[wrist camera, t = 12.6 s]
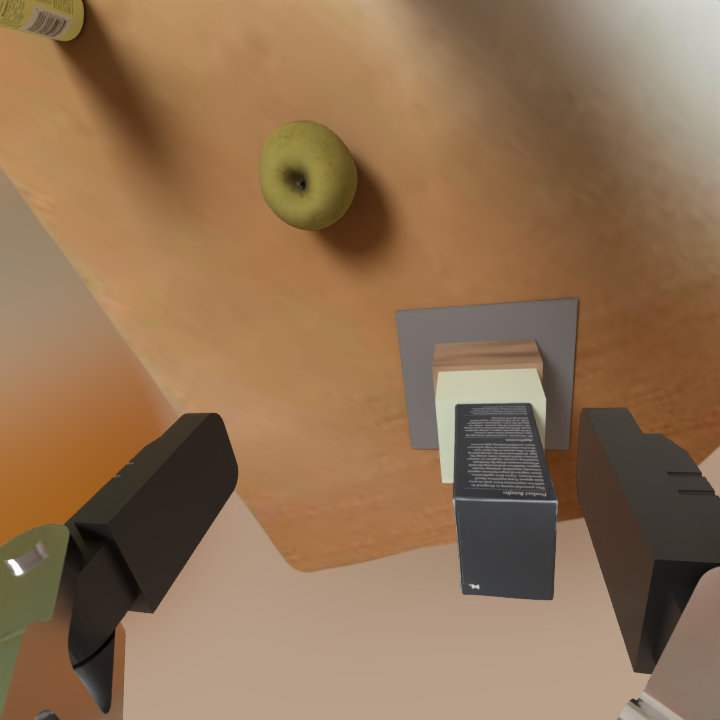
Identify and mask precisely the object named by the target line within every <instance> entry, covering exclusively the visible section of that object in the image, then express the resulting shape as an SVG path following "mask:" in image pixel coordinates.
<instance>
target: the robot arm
mask: <svg viewBox="0 0 720 720" xmlns="http://www.w3.org/2000/svg"><path fill="white" fill-rule="evenodd" d="M237 479H238V465H237V462H236V459H235V456H234V453H233V450H232V446H231V443H230V440H229V437H228V434H227V431H226V428H225V425H224V422H223V420H222V418H221V416H220V415H218V414H217V413H187V414H184V415H182V416H181V417H180V418H179V419H178V420H177V421H176V422H175V423H174V424H173V425H172V426H171V427H170V428H169V429H168V430H167V431H166V432H165V433H164V434H163V435H162V436H161V437H159V438H158V439H156V440H155V441H153V442H151V443H150V444H149V445H147V446H145V447H144V448H143V449H142V450H141V451H140V452H139V453H138V454H137V455H136V456H135V457H134V458H132V459H131V460H130V461H129V465H125V466H124V467H123V468H122V469H121V470H120V471H119V472H118V473H117V474H116V477H113V478H112V479H111V480H110V481H109V482H108V483H107V484H106V485H104V486H103V487H102V488H101V489H100V490H99V491H98V492H97V493H96V494H95V495H94V496H93V497H92V498H91V499H90V500H89V501H88V502H87V503H86V504H85V505H84V506H83V507H82V508H81V509H80V510H79V511H77V513H75V514H74V515H73V516H72V517H71V518H70V519H69V520H68V521H67V522H66V523H65V524H64V525H62V524H46V525H42V526H39V527H36V528H33V529H31V530H28V531H25V532H24V533H21V534H19V535H18V536H16V537H14V538H12V539H11V540H9V541H8V542H6V543H5V544H3V545H2V546H1V547H0V720H123V696H124V665H125V629H124V626H123V624H122V623H121V620H122V618H123V617H124V616H125V614H126V613H127V611H135V612H144V613H154V611H155V610H156V608H157V607H158V605H159V604H160V602H161V601H162V599H163V598H164V596H165V595H166V593H167V591H168V590H169V589H170V587H171V586H172V584H173V582H174V581H175V579H176V578H177V576H178V575H179V573H180V572H181V570H182V569H183V567H184V566H185V564H186V563H187V561H188V560H189V558H190V556H191V555H192V553H193V552H194V550H195V549H196V547H197V545H198V544H199V543H200V541H201V540H202V538H203V537H204V535H205V534H206V532H207V530H208V529H209V527H210V526H211V524H212V523H213V521H214V520H215V518H216V517H217V515H218V514H219V512H220V511H221V509H222V508H223V506H224V505H225V503H226V501H227V500H228V498H229V497H230V495H231V494H232V492H233V491H234V489H235V487H236V484H237ZM576 484H577V492H578V498H579V502H580V505H581V508H582V511H583V515H584V518H585V521H586V524H587V527H588V530H589V533H590V536H591V540H592V542H593V546H594V549H595V552H596V555H597V558H598V561H599V564H600V568H601V571H602V574H603V577H604V580H605V583H606V586H607V589H608V592H609V596H610V599H611V602H612V605H613V608H614V611H615V614H616V617H617V620H618V624H619V627H620V630H621V633H622V636H623V639H624V642H625V645H626V649H627V652H628V655H629V658H630V661H631V664H632V667H633V670H634V672H637V673H645V674H652V675H651V677H650V679H649V681H648V683H647V685H646V687H645V689H644V690H643V692H642V694H641V696H640V697H639V698H638V700H635V699H631V700H630V701H629V702H628V703H627V705H626V706H625V708H624V709H623V711H622V712H621V714H620V715H619V717H618V719H617V720H720V498H719V496H716V495H715V491H714V489H713V488H712V486H711V485H710V484H709V482H708V481H707V479H706V478H705V477H702V473H701V471H700V470H699V468H698V467H697V465H696V464H695V463H694V461H693V460H692V458H691V457H690V456H689V454H688V453H687V451H685V450H684V449H682V448H681V447H679V446H678V445H677V444H675V443H674V442H672V441H671V440H669V439H668V438H666V437H665V436H663V435H662V434H643V433H642V431H641V430H640V428H639V426H638V425H637V423H636V421H635V420H634V418H633V416H632V415H631V413H630V412H629V410H628V409H627V408H583V409H582V411H581V414H580V423H579V437H578V451H577V465H576Z"/></svg>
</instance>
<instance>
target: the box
mask: <svg viewBox="0 0 720 720" xmlns="http://www.w3.org/2000/svg"><path fill="white" fill-rule="evenodd" d="M454 439H455V442H454V480H453V499H452V501H453V506H454V513H455V521H456V532H457V543H458V557H459V569H460V589H461V592H462V593H463V594H464V595H484V596H496V597H506V598H520V599H533V600H552V599H553V595H554V571H555V552H556V526H557V510H558V501H557V497H556V494H555V490H554V486H553V483H552V479H551V476H550V473H549V469H548V465H547V461H546V458H545V454H544V450H543V446H542V443H541V439H540V435H539V431H538V428H537V424H536V420H535V417H534V413H533V409H532V405H531V404H530V403H483V404H481V403H478V404H457V405H456V406H455V438H454Z"/></svg>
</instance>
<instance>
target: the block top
mask: <svg viewBox="0 0 720 720" xmlns="http://www.w3.org/2000/svg"><path fill="white" fill-rule="evenodd" d="M478 403H481V404H483V403H530V404H531V405H532V409H533V413H534V417H535V420H536V424H537V428H538V431H539V435H540V439H541V443H542V446H543V450H544V451H545V421H546V397H545V394H544V391H543V388H542V385H541V382H540V379H539V375H538V372H537V369H536V368H533V369H505V370H478V371H450V372H438V381H437V390H436V399H435V405H436V416H437V427H438V439H439V450H440V462H441V473H442V483H453V480H454V442H455V439H454V438H455V406H456V405H457V404H478Z"/></svg>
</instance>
